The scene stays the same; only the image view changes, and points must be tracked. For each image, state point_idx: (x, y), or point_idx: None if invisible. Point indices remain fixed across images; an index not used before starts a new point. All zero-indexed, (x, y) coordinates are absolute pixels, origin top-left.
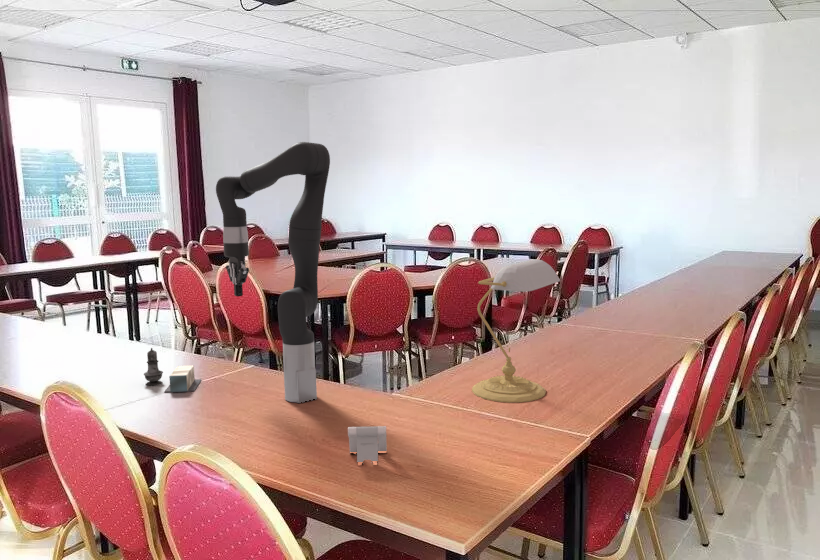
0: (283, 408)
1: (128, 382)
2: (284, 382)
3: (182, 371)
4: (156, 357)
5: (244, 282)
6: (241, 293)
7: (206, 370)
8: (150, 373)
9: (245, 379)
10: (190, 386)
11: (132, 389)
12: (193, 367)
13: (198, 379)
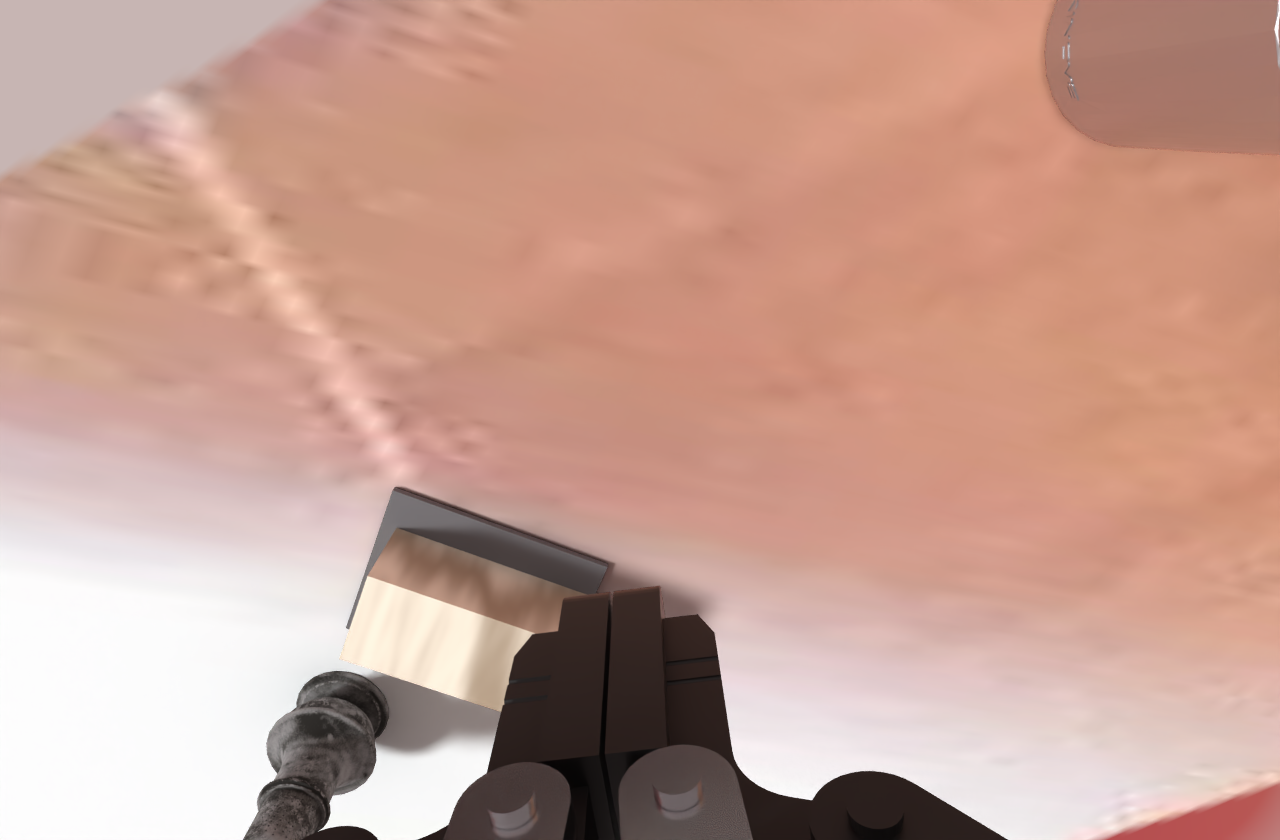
0: (1250, 212)
1: (256, 804)
2: (1186, 150)
3: (493, 658)
4: (293, 810)
5: (886, 793)
6: (707, 641)
7: (157, 411)
8: (352, 775)
9: (509, 239)
10: (524, 571)
11: (404, 802)
12: (385, 575)
13: (392, 506)
